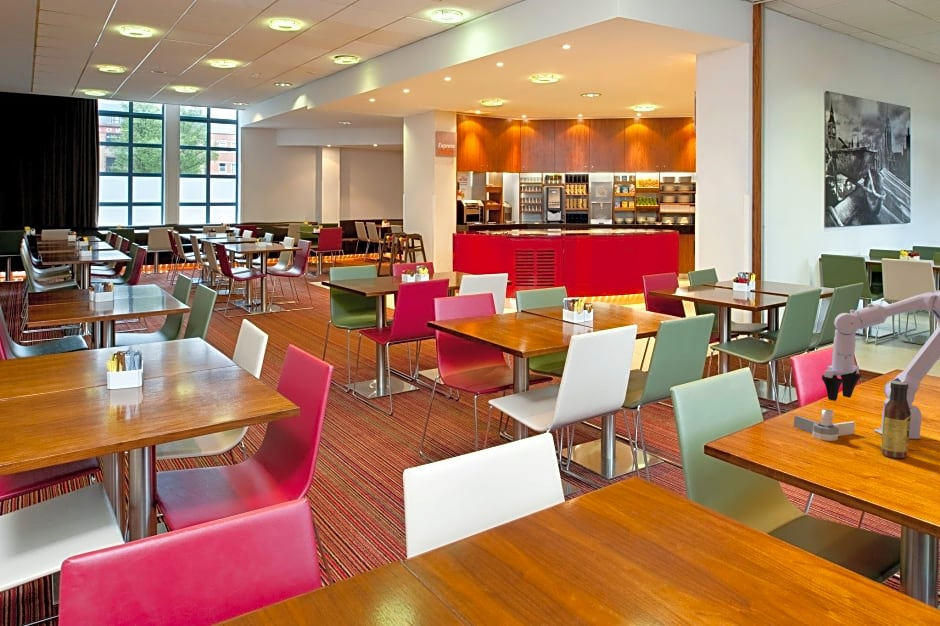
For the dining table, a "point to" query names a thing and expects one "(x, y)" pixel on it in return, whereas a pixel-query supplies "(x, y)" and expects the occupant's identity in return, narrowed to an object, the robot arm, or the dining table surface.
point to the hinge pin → (827, 418)
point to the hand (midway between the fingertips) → (839, 398)
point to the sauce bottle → (896, 422)
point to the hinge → (824, 428)
